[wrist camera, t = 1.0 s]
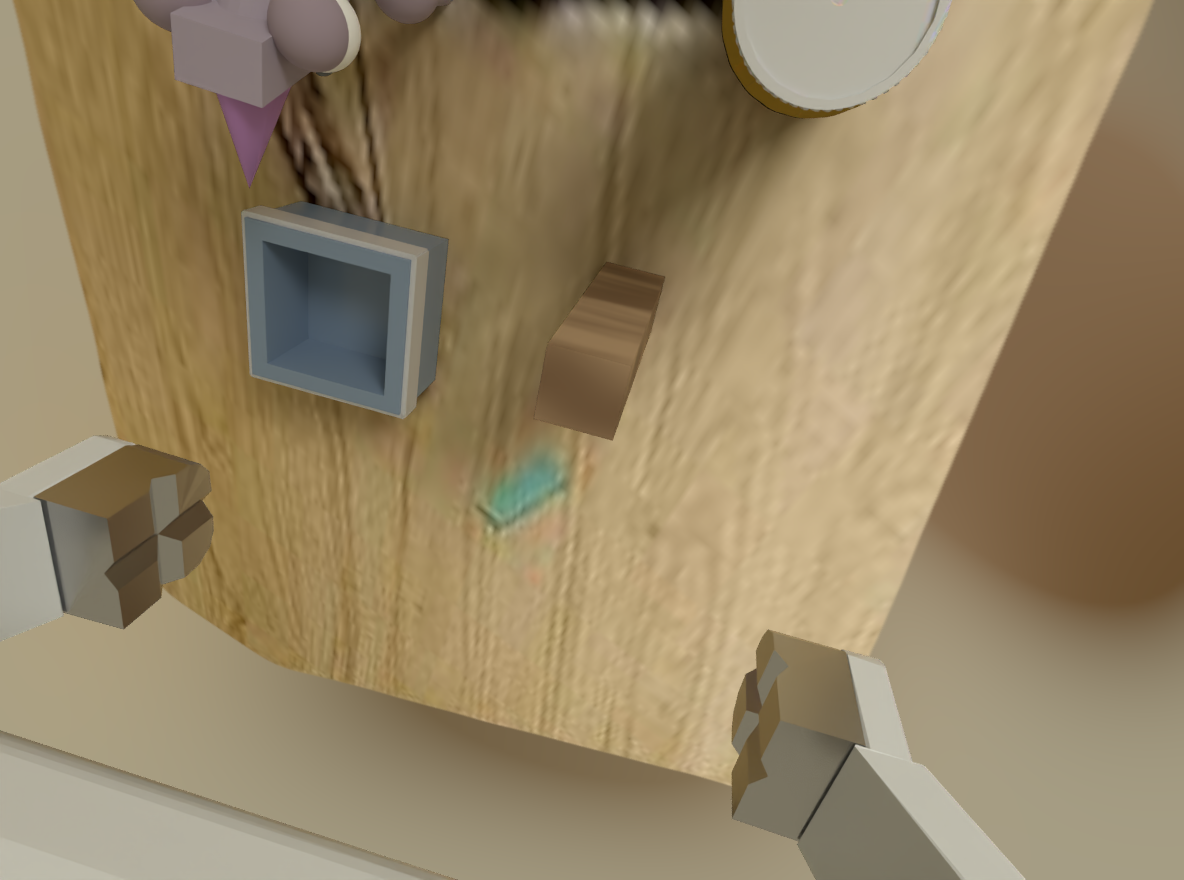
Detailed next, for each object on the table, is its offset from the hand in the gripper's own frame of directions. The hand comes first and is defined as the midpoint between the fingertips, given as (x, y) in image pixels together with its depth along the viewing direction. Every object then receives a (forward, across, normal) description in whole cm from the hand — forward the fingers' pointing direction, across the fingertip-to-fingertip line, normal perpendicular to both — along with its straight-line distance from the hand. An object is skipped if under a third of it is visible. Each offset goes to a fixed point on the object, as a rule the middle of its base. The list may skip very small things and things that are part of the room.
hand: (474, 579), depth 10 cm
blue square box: (+32, +17, +8) cm, 38 cm away
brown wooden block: (+32, +1, +4) cm, 33 cm away
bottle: (+32, -4, -11) cm, 34 cm away
